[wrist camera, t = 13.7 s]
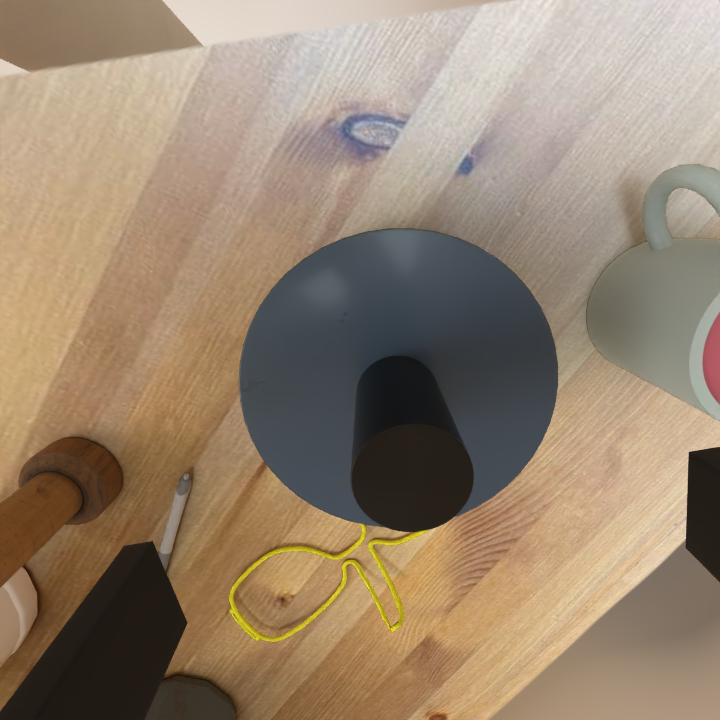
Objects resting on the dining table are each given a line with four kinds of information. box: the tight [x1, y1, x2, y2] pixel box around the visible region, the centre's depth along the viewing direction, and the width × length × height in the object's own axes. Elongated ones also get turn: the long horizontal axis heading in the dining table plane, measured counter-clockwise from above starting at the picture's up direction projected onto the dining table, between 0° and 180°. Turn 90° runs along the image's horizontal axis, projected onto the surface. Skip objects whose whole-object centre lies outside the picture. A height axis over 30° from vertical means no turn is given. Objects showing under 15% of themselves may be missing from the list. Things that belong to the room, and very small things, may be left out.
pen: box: [158, 473, 191, 571], centre depth 35 cm, size 1×14×1 cm, turn 160°
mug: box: [586, 164, 720, 421], centre depth 24 cm, size 14×9×10 cm
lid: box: [239, 228, 558, 532], centre depth 18 cm, size 16×16×9 cm
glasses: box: [229, 523, 428, 642], centre depth 34 cm, size 25×10×5 cm, turn 134°
